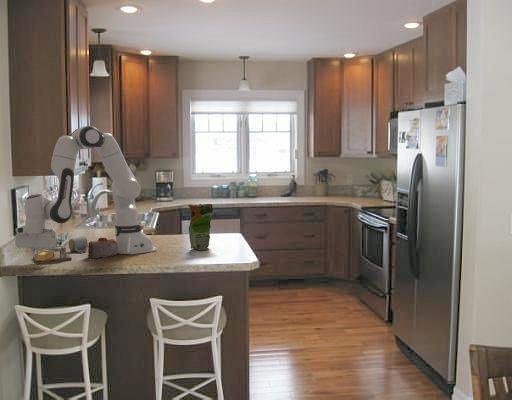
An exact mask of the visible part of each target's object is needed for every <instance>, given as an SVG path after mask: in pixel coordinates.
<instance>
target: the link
mask: <svg viewBox="0 0 512 400" xmlns="http://www.w3.org/2000/svg"><path fill="white" fill-rule="evenodd" d="M52 257H53V252H48V249H44V250H43V251H42V252H40V253H39V254H37V260H44V261H45V260H47V259H49V258H52Z"/></svg>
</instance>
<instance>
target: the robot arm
mask: <svg viewBox="0 0 512 400" xmlns="http://www.w3.org/2000/svg"><path fill="white" fill-rule="evenodd" d="M89 149H94V150H95V151H96V152H97V154H98V157H99V158H100V161H101V163H102V165H103V167H104V169H105V172H106V174H108V176H109V178H110V179H111V181H112V182H111V187H110V189H111V192H112V199H113V204H114V210H115V225H114V234H115V241H116V242H117V244H118V253H117V254H120V255H123V254H125V255H137V254H143V253H150V252H156V251H158V248H157V247H156V246H155V245H153V240H152V239H151V237H150V236H148V235H147V234H146V233H144V232H143V231H142V230H144V229H145V227H144V225H140V224H138V209H137V207H136V202H135V199H136V198H137V197H139V196H140V194H141V191H142V190H141V189H142V187H141V184H140V183H139V182H138V180H137V179H136V177H135V175H134V173H133V171H132V170H131V169H130V166H128V164H127V161H126V159H125V157H124V155H123V152H122V150H121V147H120V146H119V144H118V142H117V139H115V137H114V136H113V135H112V134H111V133H109V132H103V131H101V130H99V129H98V127H95V126H93V125H87V126H81V127H79V128H76V129H74V131H73V132H71V134H70V135H62V136H59V138H58V140H57V141H56V143H55V146H54V149H53V152H52V157H51V160H50V161H51V163H50V164H51V165H50V168H51V171H52V173H53V174H54V175H55V176H56V177H57V179H58V184H59V185H58V190H57V196H56V197H57V199H56V200H53V199H51V198H48V197H45V195H43V194H40V193H38V194H37V193H36V194H31V195H28V196H27V197H26V198H25V200H24V201H25V202H24V203H25V204H24V215H25V221H24V222H25V223H24V225H22V226H19V227H16V228H15V232H16V233H15V237H14V243H15V244H14V245H15V247H16V248H20V249H21V248H23V249H30V251H31V253H32V254H33V255H32V257H33V256H34V258H37V254H40V253H41V251H42V250H43V249H44V250H46V249H54V248H56V247H58V245H57V244H58V243H57V237H56V231H55V230H53V229H52V228H51V229H47V228H46V220H48V221H53V222H55V223H57V224H65V223H67V222H69V221H70V220H71V218H72V216H73V206H72V205H73V204H72V199H73V197H72V196H73V190H74V183H75V182H74V180H75V168H76V161H77V158H78V157H77V156H78V153H79V152H80V150H89Z"/></svg>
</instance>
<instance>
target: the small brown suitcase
mask: <svg viewBox="0 0 512 400" xmlns="http://www.w3.org/2000/svg"><path fill="white" fill-rule="evenodd" d="M87 253H88V254H87V257H88V258H90V259H92V260H93V259H101V258H103V259H105V258H110V257H114V256H116V255H118V254H119V253H118V244H117V242H116V239H113V238H111V239H110V238H109V239H108V238H107V237H99V238H97V240H90V241H89V242H88V248H87Z"/></svg>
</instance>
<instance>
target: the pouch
mask: <svg viewBox="0 0 512 400" xmlns="http://www.w3.org/2000/svg"><path fill="white" fill-rule="evenodd" d="M213 206H214V205H213V204H212V203H204V204H202V203H199V204H198V205H197V204H194V205H193V204H189V205H188V208H189V211H190V222H189V226H188V234H189V235H188V237H189V243H190V244H189V245H190V249H191V250H193V249H194V250H197V251H198V252H202V251H208V248H209V246H210V240H211V234H210V233H211V232H210V231H211V222H212V215H213V212H214V208H213Z"/></svg>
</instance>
